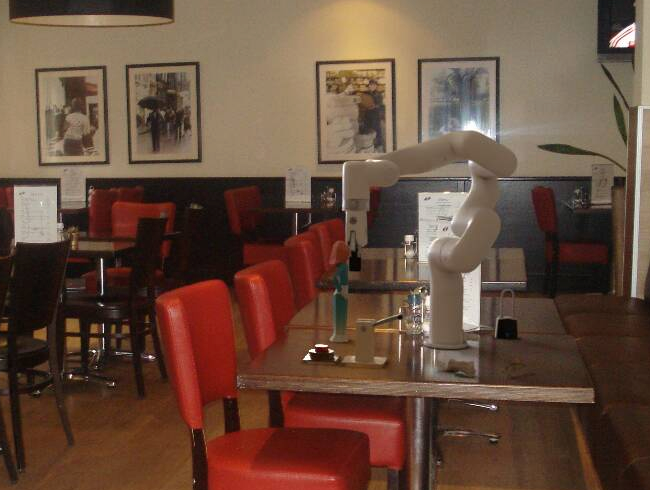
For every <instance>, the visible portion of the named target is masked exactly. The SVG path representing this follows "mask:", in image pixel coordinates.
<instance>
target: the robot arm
mask: <svg viewBox="0 0 650 490" xmlns="http://www.w3.org/2000/svg"><path fill="white" fill-rule="evenodd" d="M460 161H468V162H467V164H468V165H467V166H468V170H469V175H470V179H471V185H470V189H469V191H468V193H467V194H466V196H465V198H464V200H463V201H462V202H461V204H460V205H459V207H458V208H457V210H456V212H455V213H454V215H453V216H452V218H451V221H450V231H451V232H452V234H453V235H454V236H455V237H451V236H441V237H437V238H436V239H434V240H433V241H432V242H431V243H430V244H429V246H428V248H427V254H426V256H427V263H428V264H427V265H428V270H429V314H428V315H429V317H428V318H429V320H428V321H429V323H428V338H426V339H423V345H424V346H425V347H428V348H433V349H441V350H457V349H458V350H460V349H464V348H467V347H468V346H469V342H468V341H470V342H479V334H475V333H467V332H465V329H464V325H463V324H464V293H465V292H464V291H465V290H464V289H465V287H464V286H465V285H464V278H463V274H469V273H472V272H474V271H476V270H477V269H478V268H479V266H480V265H481V264H482V262H483V261H484V259H485V258H486V256H487V255H488V253H489V251H490V250H491V249H492V247H493V245H494V243H495V242H496V240H497V239H498V237H499V235H500V233H501V232H500V231H501V223H502V222H501V218H500V216H499V214H498V213H497V212H496V211H495V207H496V206H497V203H498V202H499V199H500V198H499V197H500V186H499V185H500V184H499V181H498V179H505V178H509V177H511V176H512V175H513V174H514V173H515V172H516V170H517V168H518V158H517V155H516V154H515V152H514V151H512V149H511V148H509V147H508V146H505V145H504V144H502V143H500V142H498V141H496V140H495V139H493V138H491V137H489V136H487V134H484V133H481V132H479V131H477V130H471V129H470V130H454V131H450V132H447V133H445V134H442V135H438V136H436V137H433V138H431V139H428V140H425V141H422V142H419V143H416V144H412V145H409V146H405V147H403V148H399V149H396V150H392V151H389V152H385V153H382V154H379V155H376V156H373V157H370V158H368V159H366V160H348V161H345V162H344V163H343V165H342V191H341V192H342V195H341V196H342V198H341V199H342V201H341V205H342V206H341V211H343V212H345V242H346V245H347V246H348V247H349V255H350V257H349V258H348V272H351V273H352V272H354V273H355V272H356V273H360V272H362V248H363V247H365V246H366V245H368V216H367V215H368V214H367V212H370V206H371V205H370V203H371V201H370V200H371V199H370V198H371V197H370V195H371V187H375V188H376V187H378V188H389V187H393V186H395V184H396V183H398V182H399V179H400V177H401V176H407V175H408V176H409V175H420V174H425V173H429V172H432V171H434V170H437V169H440V168H442V167H445V166H448V165H451V164H454V163H457V162H460Z"/></svg>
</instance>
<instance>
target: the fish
mask: <svg viewBox="0 0 650 490" xmlns="http://www.w3.org/2000/svg"><path fill="white" fill-rule="evenodd" d="M532 362H533V359H532V358H531V359H530V360H529V361H528V362H527V363H526V364H523V363H521V359H520V356H518V357H516V360H515V361H514V362H512V363H509V364H507V365H505V367H503V368H502V370H501V373H502V374H504V375H508V377H510V376H512V377H513V378H517V377H518V375H520V376H523V375H524V372H525V370H527V371H528V372H529V373H530V374H532V373H533V371H532V367H531V366H532Z"/></svg>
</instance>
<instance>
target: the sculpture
mask: <svg viewBox="0 0 650 490" xmlns="http://www.w3.org/2000/svg"><path fill="white" fill-rule="evenodd" d="M349 257H350V255H349V247H348V246H347V245H346V241H344V240H337V241H335V242H334V243H333V245H332V248H331V254H330V258H329V262H328V264H329V265H330V266H332V267H333V268H337V270H336V272H335V273H334V274H333V276H332V279H333V283H334V286H335V291H334V292H333V294H332V309H333V310H332V317H333V318H332V319H333V326H332V327H333V333H332V335H331V337H330V338H329V339H328V340H329V341H330V342H332V343H348V342H349V341H350V340H349V338H348V335H347V327H348V310H349V309H348V307H349V264H347V263H345V261H346V260H347V259H349Z"/></svg>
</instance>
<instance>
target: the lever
mask: <svg viewBox="0 0 650 490" xmlns="http://www.w3.org/2000/svg"><path fill="white" fill-rule="evenodd" d="M405 315H406V314H405V312H404V311H400V312H399V313H398V314H396V315H392V316H389V317H386V318H383V319H380V320H377V321H375V322H373V327H374V326H375V327H377V326H380V325H384V324H387V323H390V322H393V321H397V320H399V321H402V320H403V319H404V318H405ZM368 322H369V321H368Z"/></svg>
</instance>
